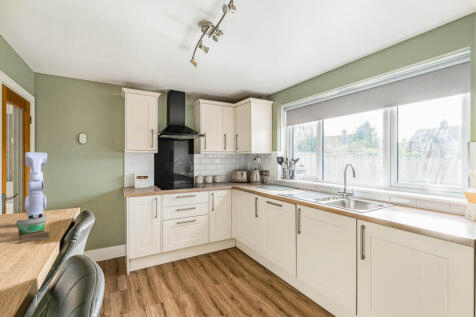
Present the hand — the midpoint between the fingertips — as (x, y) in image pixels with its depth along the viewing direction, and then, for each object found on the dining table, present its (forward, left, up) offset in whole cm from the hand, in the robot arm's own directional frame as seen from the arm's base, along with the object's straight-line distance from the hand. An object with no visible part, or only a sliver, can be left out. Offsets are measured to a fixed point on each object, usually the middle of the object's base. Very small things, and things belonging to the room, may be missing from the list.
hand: (35, 228), depth 120 cm
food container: (+8, 0, -3) cm, 9 cm away
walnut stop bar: (+13, 0, -3) cm, 14 cm away
